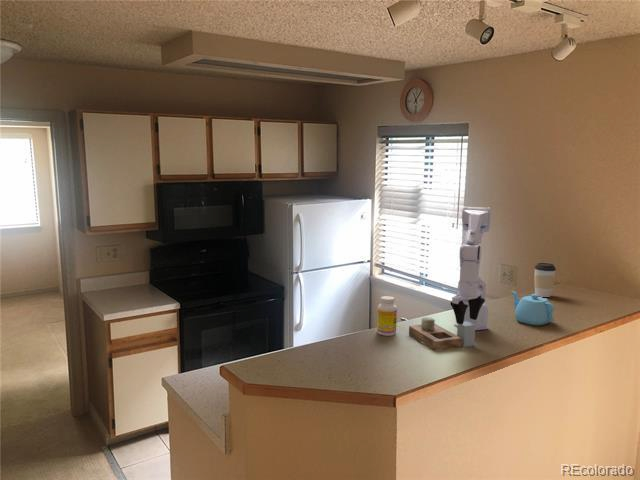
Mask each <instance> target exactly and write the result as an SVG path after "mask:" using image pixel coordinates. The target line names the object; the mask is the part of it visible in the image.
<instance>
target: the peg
mask: <svg viewBox="0 0 640 480" xmlns="http://www.w3.org/2000/svg"><path fill="white" fill-rule="evenodd" d="M456 335H457V336H459V337H461V338H462V346H461V347H471V346H475V341H476V340H475V339H476V338H475V336H476V330H475V324H472V323H470V322H468V321H466V322H463V324H458V326H457V333H456Z"/></svg>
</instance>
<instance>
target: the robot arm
mask: <svg viewBox="0 0 640 480" xmlns="http://www.w3.org/2000/svg"><path fill="white" fill-rule="evenodd" d="M491 219H492V209H491V207H489V206H488V207H481V206H480V207H477V206H475V207H474V206H463V207H462V213H461V222H462V223H461V224H462V229H463V230H464V231H465V233H464V235H463V240H462V245H460V247H459V268H460V270H459V281H458V284H457V288H456V289H457V291H456V294H455V295H454V296H452V297H451V300H450V303H449V304H450V306H451V308H452V310H453V312H454V317H455V323H454V324H453V325H454V326H456V327H458V324H463V322H466V321H468V322H470V323H472V324H475V331H479V330H480V331H481V330H489V326H488V319H489V317H488V316H489V310H488V307H487V304H485V303H486V297H487V296H486V295H487V287H486V286H487V284H486V282H485V280H483V279H482V278H480V277H479V276H480V266H481V265H480V264H481V259H482V239H483V236H484V234H485V233H487V232H489V231H490V228H491Z"/></svg>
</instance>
